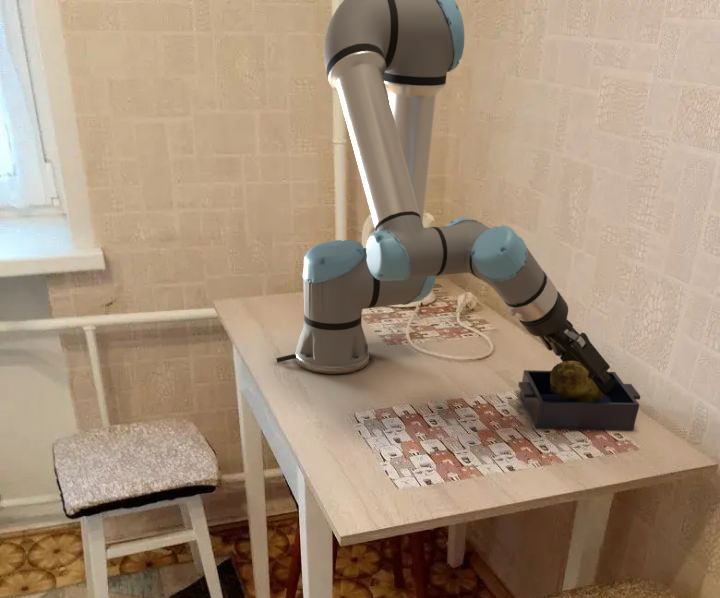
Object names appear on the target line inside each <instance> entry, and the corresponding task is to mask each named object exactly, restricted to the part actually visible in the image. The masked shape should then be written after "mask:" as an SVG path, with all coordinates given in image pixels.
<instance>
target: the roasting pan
mask: <svg viewBox="0 0 720 598" xmlns="http://www.w3.org/2000/svg"><path fill="white" fill-rule="evenodd" d="M607 372H608V373H609V375H610V376H611V377H612V379H613V380H614V381H615V383H616V384H615V385H614V387H613V388H612V389H611V390H610V391H609V392H608V393H607V394H606V395H605V394H604V396H603V397H602V398H601V399H600V400H598V401H597V402H574V401H569V400H564V399H562V398H560V397H559V396H558V395H557V394H556V393H553V392H551V390H550V389H551V385H550V375H551V370H535V369H533V370H529V369H524V370H523V373H522V380H521V382H528V383H529V385H530V387H531V389H532V391H533V393H534V398H524V396H523V394H522V392H521V391H520V392H519V395H520V398H521V399H522V402H523V404H524V406H525V408H526V410H527V413H528V415H529V417H530V419H531V421H532V423H533V426H534V428H535V429H536V430H579V431H580V430H582V431H583V430H585V431H587V430H588V431H590V430H591V431H634V429H635V424H636V420H637V416H638V412H639V408H640V404H639V402H638V400H637V399H635V398H634V397H633V395H632V394H631V393H630V392H629V390H628V389H627V388H626V386H625V385H624V384H625V383H624V382H623V380H622V379H621V378H620V376H619V375H618V374H617V372H616V371H607Z"/></svg>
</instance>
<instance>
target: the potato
mask: <svg viewBox="0 0 720 598" xmlns="http://www.w3.org/2000/svg"><path fill="white" fill-rule="evenodd" d="M550 371H551V375H550V385H551V389H550V390H551V392H553V393H556V394H557V395H558V396H559V397H560V398H562V399H564V400H569V401H574V402H597V401H598V400H600V399H601V398H602V397H603V396H604V394H603V393H602V392H601V390H600V389H599V388H598V387H597V385H596V384H595V383H594V381H593V380H591V379H589V378H588V377H587V376H588V373H589V372H588V371H587V370H586V369H585V368H584V366H583V365H582V364H581V363H580V362H577V361H565V362H563V361H561V362H559V363H557V364H556V365H554V366H553V367H552V368H551V370H550Z"/></svg>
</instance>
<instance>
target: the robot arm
mask: <svg viewBox="0 0 720 598" xmlns="http://www.w3.org/2000/svg"><path fill="white" fill-rule="evenodd" d="M464 48H465V25H464V20H463V16H462V12H461V11H460V8H459V5H458V4H457V2H456V0H343V1H341V3H340V4H339V5H338V7H337V8H336V10H335V12H334V13H333V15H332V17H331V19H330V21H329V23H328V27H327V30H326V33H325V39H324V46H323V60H324V67H325V72H326V76H327V79H328V83H329V85H330V88H332V89H333V90H334V91H335V92H337V93H338V97H339V101H340V104H341V108H342V112H343V116H344V119H345V122H346V127H347V131H348V133H349V138H350V141H351V145H352V149H353V152H354V157H355V160H356V163H357V167H358V171H359V175H360V178H361V182H362V186H363V189H364V193H365V198H366V200H367V201H366V202H367V204H368V208H369V213H370V216H371V219H372V223H373V227H374V230H373V231H372V232H371V233H370V234H369V237H368V239H367V240H366V241H367V242H366V246H365V247H364V246H363V244H362V243H361V242H359V241H356V240H352V239H346V240H342V239H336V240H329V241H324V242H321V243H318V244H316V245H313V246H312V247H311V248H310V249H308V251H306V253H305V254H304V257H303V271H302V274H301V275H302V280H303V285H302V286H303V325H302V329H301V333H300V336H299V339H298V341H297V345H296V347H295V353H293V354H288V355H283V356H280V357H275V359H276V363H282V362H285V361H290V360H294V359H295V362H296V364H297V365H298V366H300V367H301V368H303V369H305V370H307V371H310V372H314V373H318V374H325V375H343V374H350V373H355V372H357V371H360V370H362V369H363V368H365V367H366V366H367V365H368V364H369V362H370V351H371V344H372V343H371V342H369V344H368V342H367V339H366V336H365V332H364V329H363V324H362V316H363V315H362V314H363V310H364V309H372V308H373V309H375V308H383V307H389V306H398V305H400V306H401V305H403V306H407V305H410V304H412V303H418V302H421V301H423V300H425V298H427V297H428V296H430V294H431V292H432V290H433V289H434V287H435V283H436V280H437V277H438V276H448V275H457V274H467V273H468V274H470V275H472V276H474V277H475V278H477V279H479V280H481V281H482V282H484V283H486V284H487V285H489V286H490V287H491V288H492V289H493V290H494V292H495V293H497V295H498V296H499V297H500V298H501V300H502V301H503V302H504V303H505V304H506V306H507V307H509V309H510V311H509V315H510V316H512V317H514V316H516V318H517V319H518V320H519V322H520V323H521V325H522V326H523V327H524V328H525V330H526V331H527V332H528V333H529V334H530V335H532V336H535V337H538V338H539V339H540V340H541V342H542V344H544V346H545V347H546V349H547V350H548V351H550V352H552V351H553V353H554V355H555V356H557V357H559V359H560V360H561V362H565V361H577V362H580V363H581V364H582V365H583V366H584V368H585V369H586V370H587V371H588V372H589V373H588V376H587V377H588V378H589V379H591V380H593V381H594V383H595V384H596V385H597V387H598V388H599V389H600V390H601V392H602V393H603V394H605V395H606V394H607V393H608V392H609V391H610V390H611V389H612V388H613V387H614V385H615V384H616V383H615V381H614V380H613V379H612V377H611V376H610V375H609V373H608V372H609V371H608V370H609V369H610V368H611V366H610V364H609V363H608V362H607V360H606V359H604V357H603V356H602V355H601V354H600V352H599V351H598V349H597V348H596V347H595V346H594V345H593V343H592V341H590V339H589V337H588V335H587V334H586V333H585V332H580V333H579V332H578V331H577V330H576V329H575V328H574V325H573V323H571V321H570V320H569V319H568V316H569V306H568V303H567V302H566V300H565V299H564V297H563V296H562V295H561V293H560V292H559V290H557V287H556V286H555V284H554V283H553V281H552V280H551V278H550V277H549V275H548V274H547V273H546V272H545V271H544V269H543V268H542V267H541V265H540V264H539V263H538V261H537V260H536V258H535V257H534V256H533V254H532V253H531V251H530V250H529V249H528V247H527V245H526V243H525V241H524V239H523V238H522V237H520V236H519V235H518V234H517V233H516V232H515V230H514V229H513V228H512V227H510V226H508V225H500V226H492V227H489V226H487V225H485V224H484V223H482V222H481V221H478V220H476V219H472V218H468V217H457V218H455V219H454V220H452V221H450V222H449V223H447V224H446V225H444V226H430V227H424V222H423V221H424V213H425V203H426V194H427V193H426V192H427V184H428V174H429V167H430V166H429V165H430V156H431V146H432V136H433V126H434V125H433V124H434V115H435V106H436V96H437V94H438V93H439V92H440V91H441V90H442V89H444V87H445V86H446V85H447V75H448V73H450V72H452V71H453V70H456V68H457V67H458V66H459V65H460V60H461V59H462V58H463V54H464Z"/></svg>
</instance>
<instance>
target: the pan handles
mask: <svg viewBox="0 0 720 598" xmlns="http://www.w3.org/2000/svg"><path fill="white" fill-rule="evenodd" d="M623 384H624V385H625V386H626V388H627V389H628V390H629V392H630V393H631V394H632V395H633V397H634V398H635V399H636V401H638V400H641V394H640V393H639V392H638V391H637V390H636V388H635V387H634V386H633V384H632V383H623ZM517 385H518V388H519V390H520V392H522V394H523V396H524V398H534V393H533V391H532V389H531V387H530V385H529V383H528V382H522V381H518V384H517Z"/></svg>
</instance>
